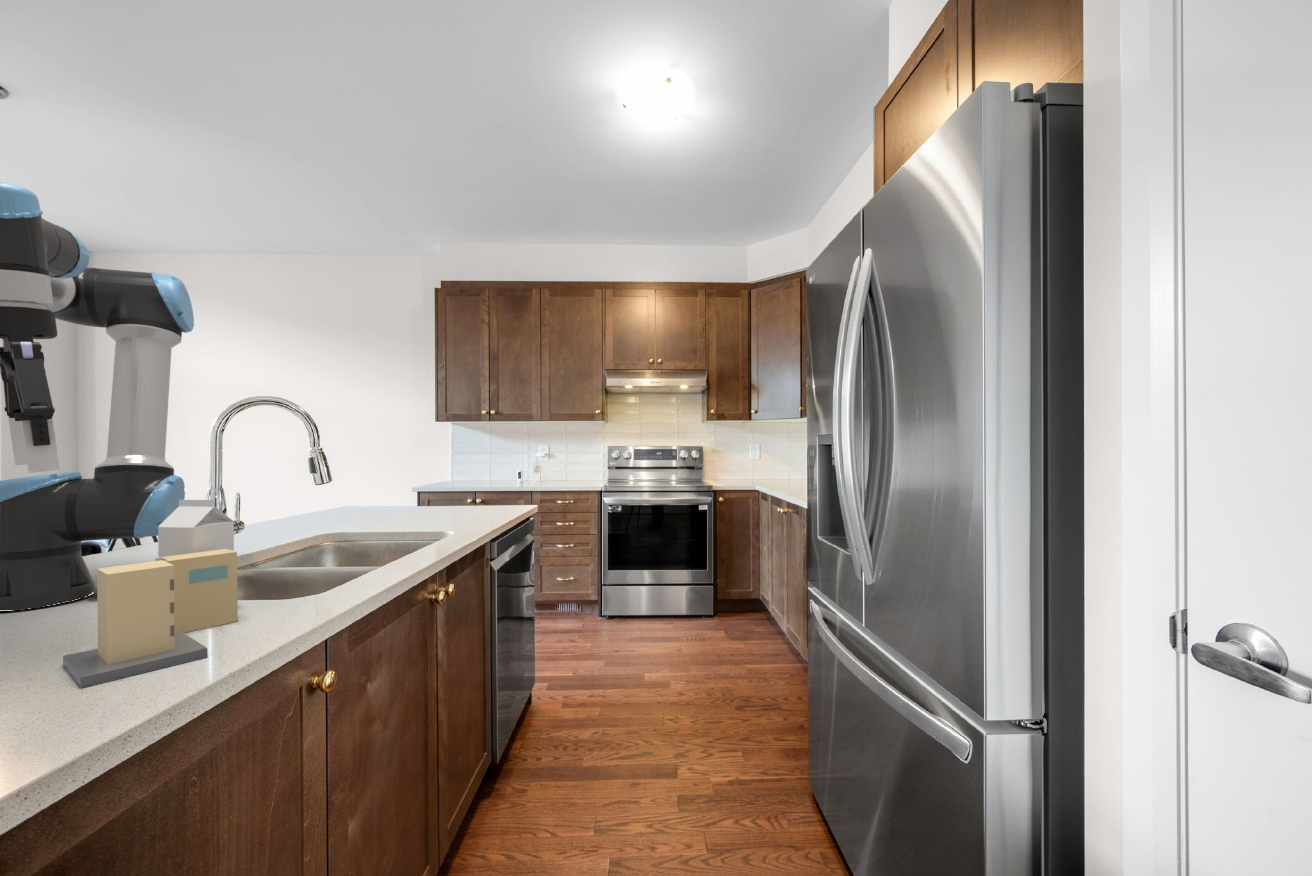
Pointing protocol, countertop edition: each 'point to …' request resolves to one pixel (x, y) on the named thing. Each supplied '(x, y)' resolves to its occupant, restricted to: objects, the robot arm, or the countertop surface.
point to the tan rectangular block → (135, 610)
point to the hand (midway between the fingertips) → (36, 467)
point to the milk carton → (195, 529)
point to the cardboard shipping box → (204, 589)
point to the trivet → (130, 662)
